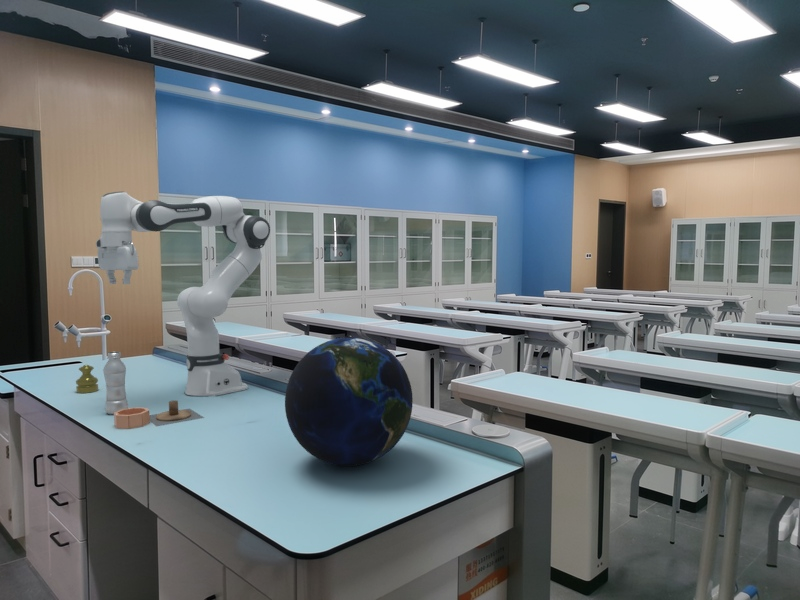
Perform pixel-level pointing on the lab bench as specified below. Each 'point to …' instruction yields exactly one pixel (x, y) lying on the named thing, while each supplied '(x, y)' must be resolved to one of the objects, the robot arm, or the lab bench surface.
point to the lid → (173, 413)
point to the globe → (348, 401)
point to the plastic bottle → (115, 383)
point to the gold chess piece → (86, 380)
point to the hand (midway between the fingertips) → (119, 284)
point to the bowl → (131, 418)
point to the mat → (159, 423)
